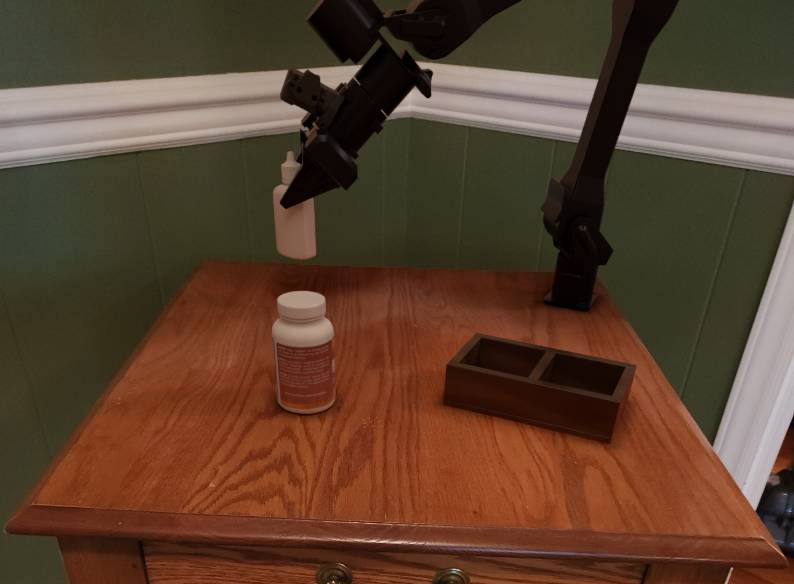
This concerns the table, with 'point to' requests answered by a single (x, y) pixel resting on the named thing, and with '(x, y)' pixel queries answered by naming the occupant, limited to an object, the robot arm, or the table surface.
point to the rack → (539, 386)
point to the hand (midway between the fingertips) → (282, 200)
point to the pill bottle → (303, 353)
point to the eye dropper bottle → (293, 218)
